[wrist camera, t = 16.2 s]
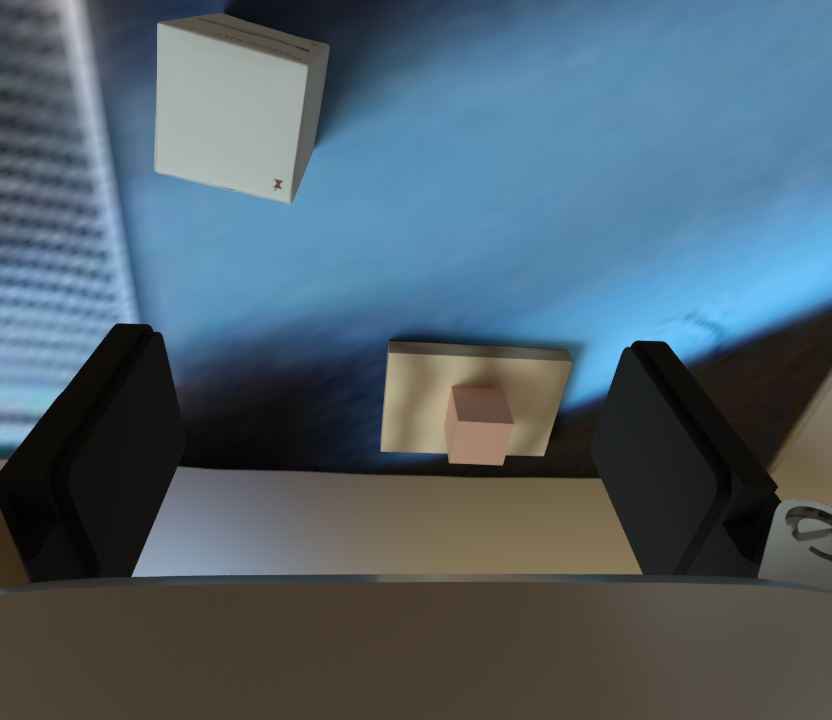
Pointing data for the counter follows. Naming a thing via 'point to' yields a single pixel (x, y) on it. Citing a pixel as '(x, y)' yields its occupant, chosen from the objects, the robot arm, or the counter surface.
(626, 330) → the counter surface
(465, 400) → the terracotta cube
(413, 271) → the counter surface
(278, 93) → the supplement box
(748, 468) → the robot arm
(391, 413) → the chopping board
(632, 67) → the counter surface
